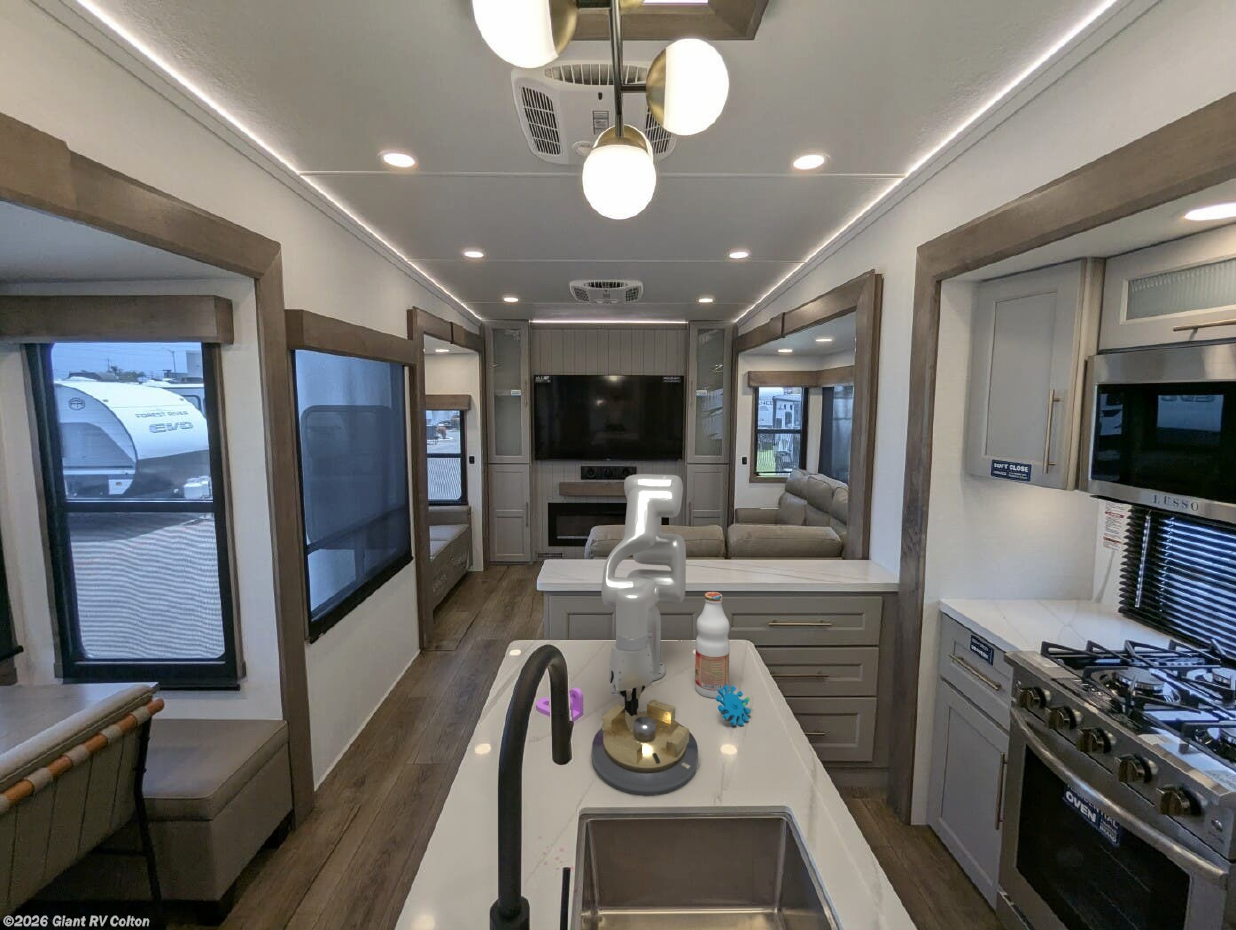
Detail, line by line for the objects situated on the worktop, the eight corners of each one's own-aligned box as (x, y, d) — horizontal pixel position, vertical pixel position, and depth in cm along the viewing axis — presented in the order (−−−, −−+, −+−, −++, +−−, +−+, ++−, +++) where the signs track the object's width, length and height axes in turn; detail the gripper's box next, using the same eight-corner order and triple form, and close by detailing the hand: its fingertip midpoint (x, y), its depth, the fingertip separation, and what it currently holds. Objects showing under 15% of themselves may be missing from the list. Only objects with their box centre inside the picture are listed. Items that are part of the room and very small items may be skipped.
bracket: (583, 715, 136) (583, 689, 135) (569, 725, 131) (569, 699, 131) (545, 699, 143) (545, 675, 142) (531, 709, 139) (531, 684, 138)
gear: (729, 727, 128) (713, 686, 133) (715, 735, 131) (700, 694, 137) (760, 719, 134) (744, 680, 139) (746, 727, 137) (731, 688, 143)
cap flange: (604, 720, 133) (604, 709, 133) (699, 731, 129) (699, 719, 129) (580, 787, 110) (580, 773, 109) (696, 802, 105) (696, 788, 105)
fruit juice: (711, 702, 141) (713, 603, 138) (687, 687, 149) (689, 592, 146) (735, 692, 147) (738, 595, 144) (711, 678, 154) (713, 586, 151)
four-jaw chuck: (595, 725, 126) (595, 705, 125) (670, 714, 130) (670, 695, 130) (614, 779, 107) (614, 757, 107) (700, 764, 112) (700, 742, 111)
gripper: (651, 628, 131) (651, 697, 133) (596, 639, 125) (597, 711, 127) (666, 640, 124) (666, 713, 126) (609, 653, 118) (609, 729, 120)
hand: (631, 712), depth 126 cm, fingers closed
